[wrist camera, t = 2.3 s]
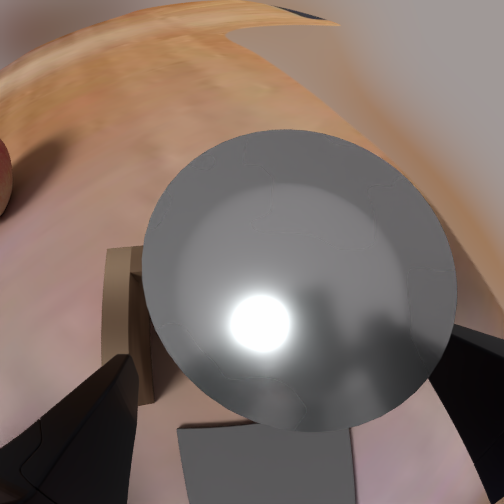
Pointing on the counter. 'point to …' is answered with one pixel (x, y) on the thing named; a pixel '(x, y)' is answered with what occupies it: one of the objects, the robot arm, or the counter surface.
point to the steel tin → (299, 280)
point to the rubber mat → (266, 465)
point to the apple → (5, 177)
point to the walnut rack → (127, 315)
